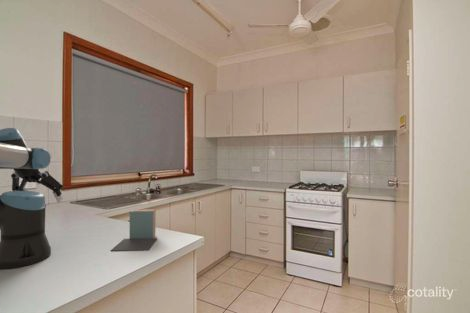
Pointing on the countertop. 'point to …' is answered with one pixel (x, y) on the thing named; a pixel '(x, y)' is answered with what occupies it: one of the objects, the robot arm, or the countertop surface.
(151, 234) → the tile
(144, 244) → the mat
